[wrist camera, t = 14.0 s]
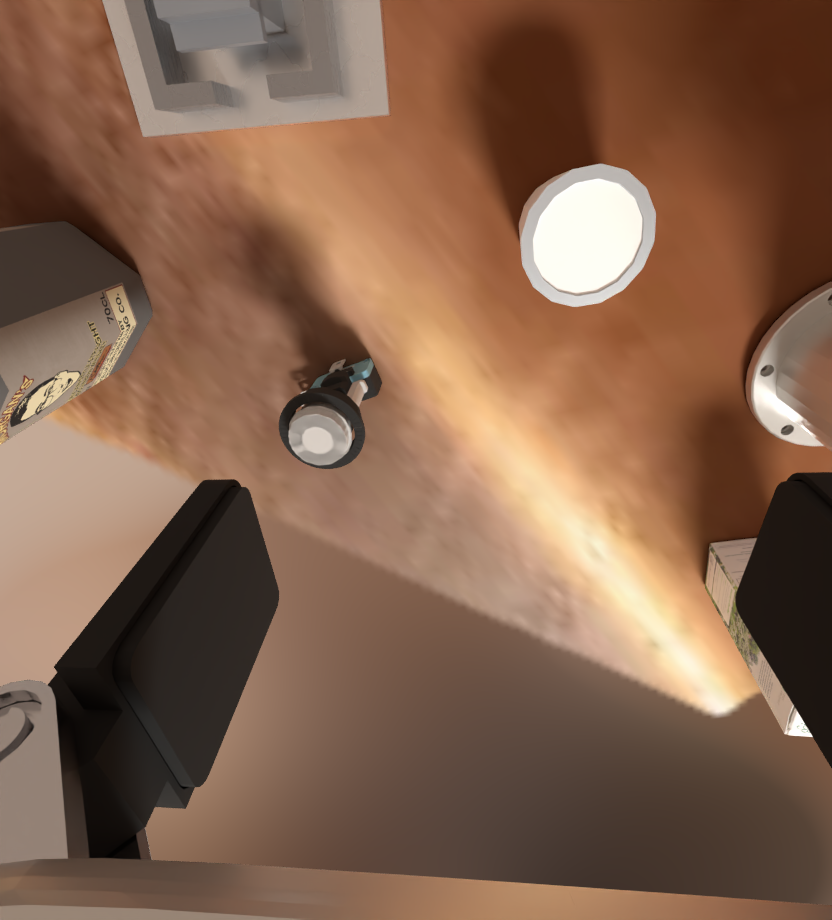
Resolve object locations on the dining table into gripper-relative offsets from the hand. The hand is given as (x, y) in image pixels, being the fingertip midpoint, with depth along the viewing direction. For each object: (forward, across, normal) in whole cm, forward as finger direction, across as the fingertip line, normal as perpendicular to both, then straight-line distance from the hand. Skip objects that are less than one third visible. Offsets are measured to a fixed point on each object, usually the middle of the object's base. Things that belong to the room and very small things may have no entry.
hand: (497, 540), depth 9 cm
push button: (+28, +10, +8) cm, 31 cm away
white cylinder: (+28, -6, -2) cm, 29 cm away
